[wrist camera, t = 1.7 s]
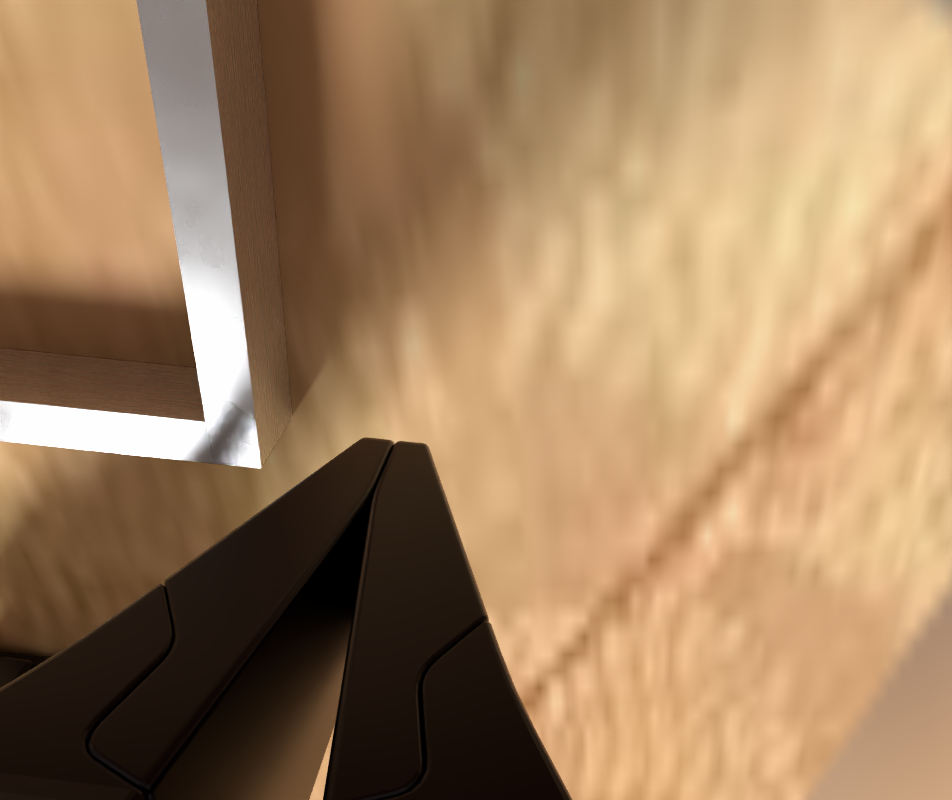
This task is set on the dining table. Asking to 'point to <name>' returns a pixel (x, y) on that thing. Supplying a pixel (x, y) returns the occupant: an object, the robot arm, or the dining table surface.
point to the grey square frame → (187, 270)
